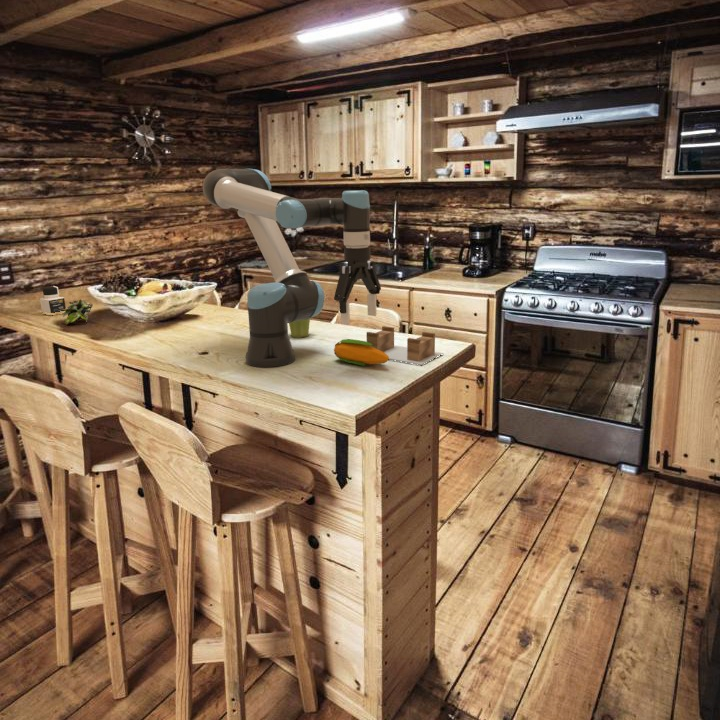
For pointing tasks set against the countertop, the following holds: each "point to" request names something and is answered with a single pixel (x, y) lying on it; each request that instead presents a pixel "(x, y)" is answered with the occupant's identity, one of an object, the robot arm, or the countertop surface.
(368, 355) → the corn
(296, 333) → the plant pot
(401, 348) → the mat
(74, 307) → the leafy green plant
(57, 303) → the medicine bottle
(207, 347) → the countertop surface
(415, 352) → the wooden brackets on board
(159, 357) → the countertop surface
